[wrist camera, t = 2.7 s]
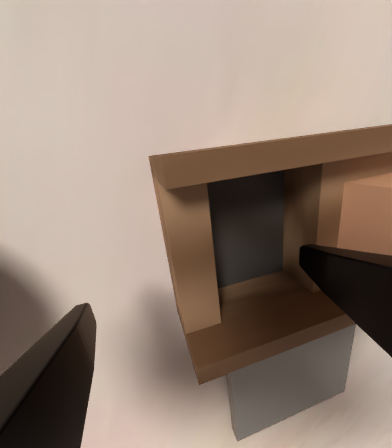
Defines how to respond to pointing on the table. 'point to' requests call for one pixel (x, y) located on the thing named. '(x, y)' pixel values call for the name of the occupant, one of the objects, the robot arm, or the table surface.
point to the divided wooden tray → (257, 239)
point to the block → (367, 215)
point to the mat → (288, 382)
